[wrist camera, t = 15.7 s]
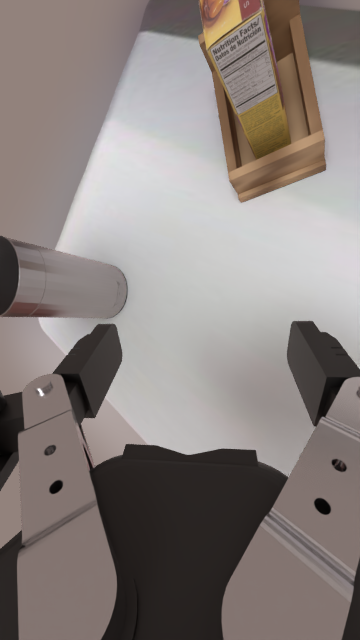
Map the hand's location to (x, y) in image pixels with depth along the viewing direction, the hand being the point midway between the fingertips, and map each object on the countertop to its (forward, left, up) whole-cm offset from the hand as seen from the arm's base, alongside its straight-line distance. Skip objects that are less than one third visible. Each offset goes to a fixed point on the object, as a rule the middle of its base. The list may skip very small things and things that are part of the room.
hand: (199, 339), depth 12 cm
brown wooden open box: (-5, +24, -22) cm, 33 cm away
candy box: (-5, +24, -21) cm, 32 cm away
